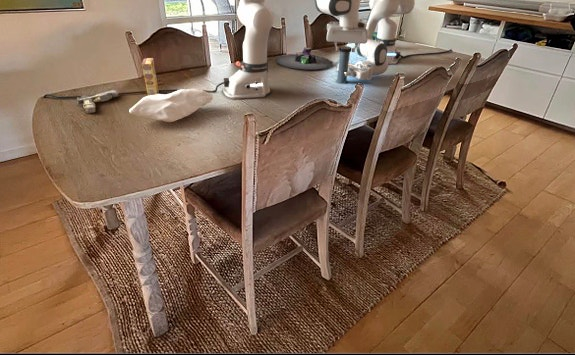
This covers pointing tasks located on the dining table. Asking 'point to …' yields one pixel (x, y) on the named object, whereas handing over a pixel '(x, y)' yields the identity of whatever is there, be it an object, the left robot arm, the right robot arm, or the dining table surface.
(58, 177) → the dining table surface
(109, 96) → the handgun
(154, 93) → the candy box
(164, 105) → the crumpled cloth
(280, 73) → the dining table surface
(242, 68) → the left robot arm
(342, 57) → the grey tall cylinder
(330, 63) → the round decorative tray
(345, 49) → the lid
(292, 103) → the dining table surface
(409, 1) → the right robot arm
